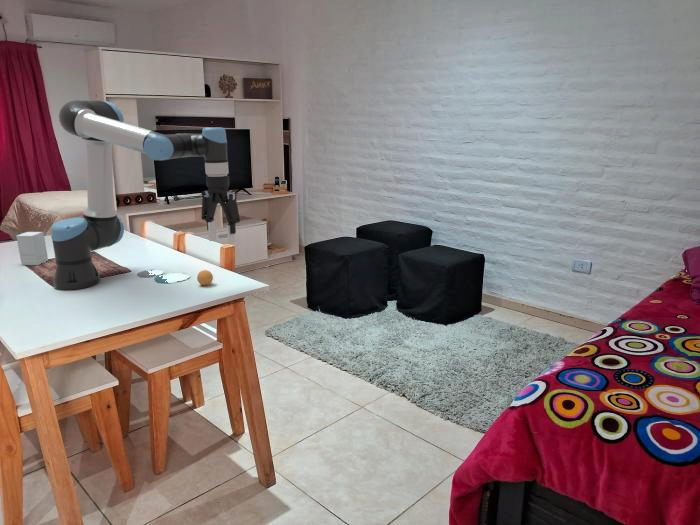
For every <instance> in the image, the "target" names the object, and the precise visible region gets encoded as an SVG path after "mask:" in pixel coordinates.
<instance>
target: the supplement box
mask: <svg viewBox="0 0 700 525" xmlns="http://www.w3.org/2000/svg"><path fill="white" fill-rule="evenodd" d="M15 237H16V241H17V248H18V253H19V258H20V262H21V266H39V265H42V264H44V263H47V262H48V261H49V258H48V257H49V256H48V251H47V246H46V240H45V239H46V238H45V233H44V231H26V232H22V233H21V234H20V233H19V234H17V235H16V236H15ZM46 261H47V262H46ZM43 262H44V263H43ZM41 263H42V264H41Z"/></svg>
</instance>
